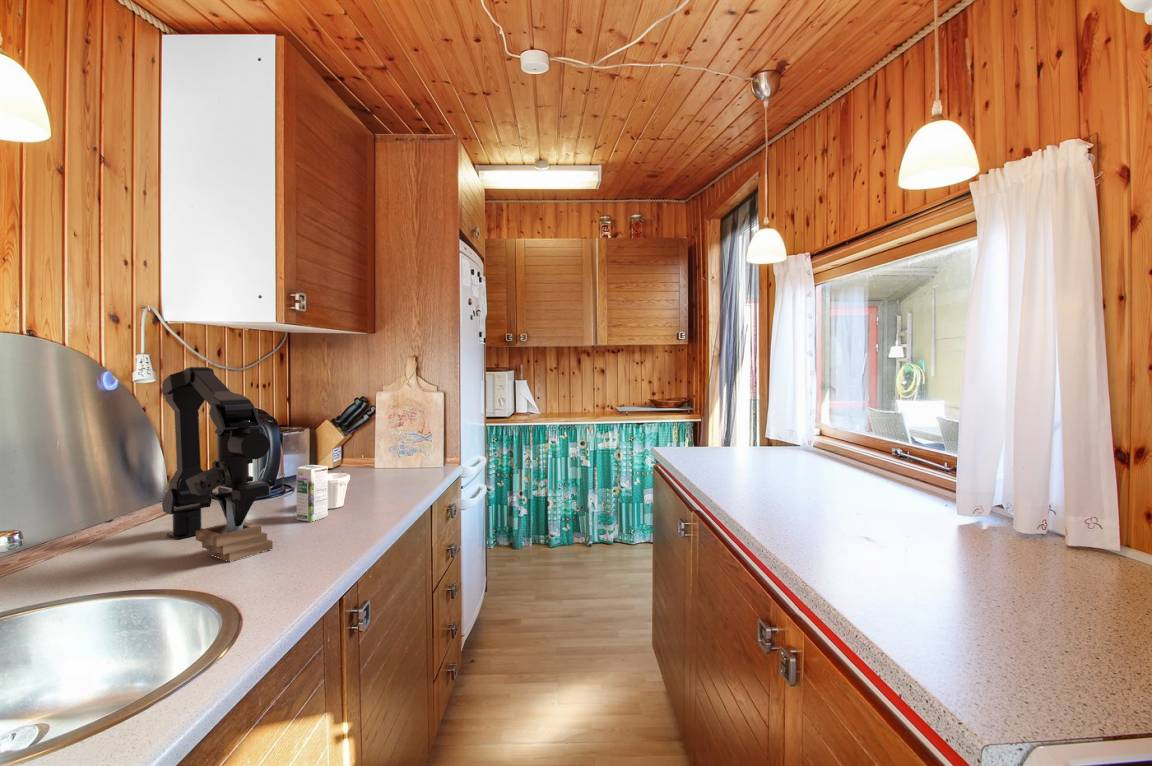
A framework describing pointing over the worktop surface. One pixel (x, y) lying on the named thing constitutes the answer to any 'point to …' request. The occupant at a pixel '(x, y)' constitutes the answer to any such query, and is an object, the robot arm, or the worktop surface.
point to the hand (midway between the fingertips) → (234, 524)
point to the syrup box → (312, 492)
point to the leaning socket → (234, 541)
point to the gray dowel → (231, 519)
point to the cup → (337, 489)
